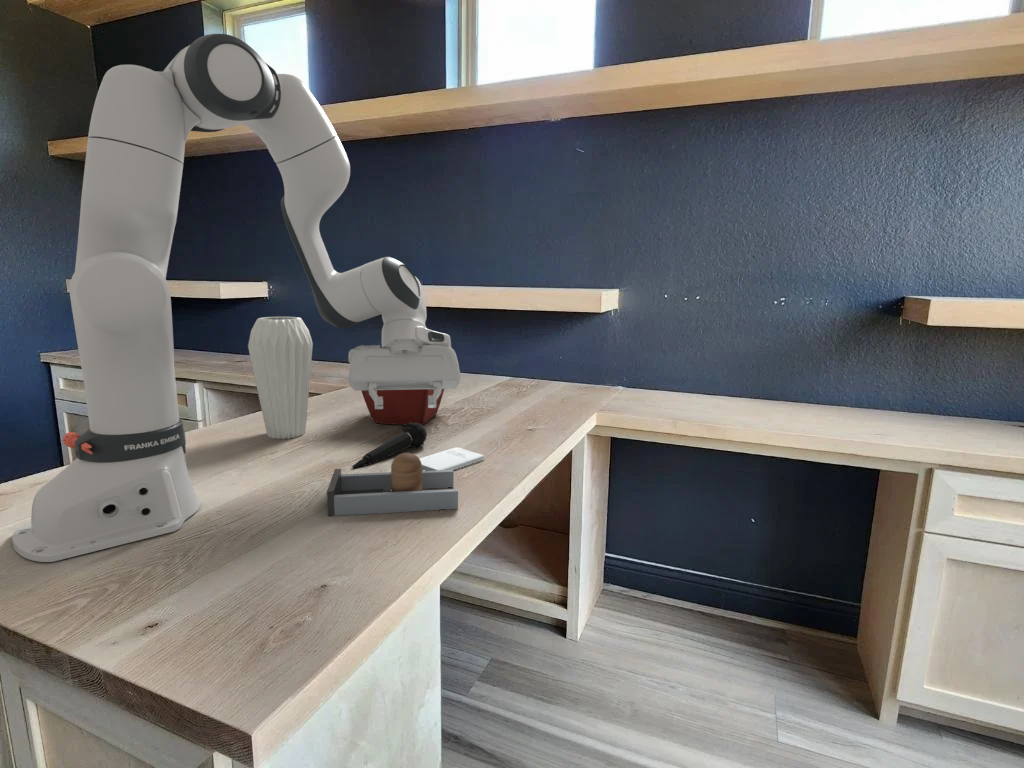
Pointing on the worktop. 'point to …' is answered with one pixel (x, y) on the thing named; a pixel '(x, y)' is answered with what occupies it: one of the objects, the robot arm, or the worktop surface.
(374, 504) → the channel
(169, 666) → the worktop surface
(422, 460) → the external hard drive
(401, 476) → the peg
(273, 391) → the vase
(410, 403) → the plant pot
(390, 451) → the microphone
